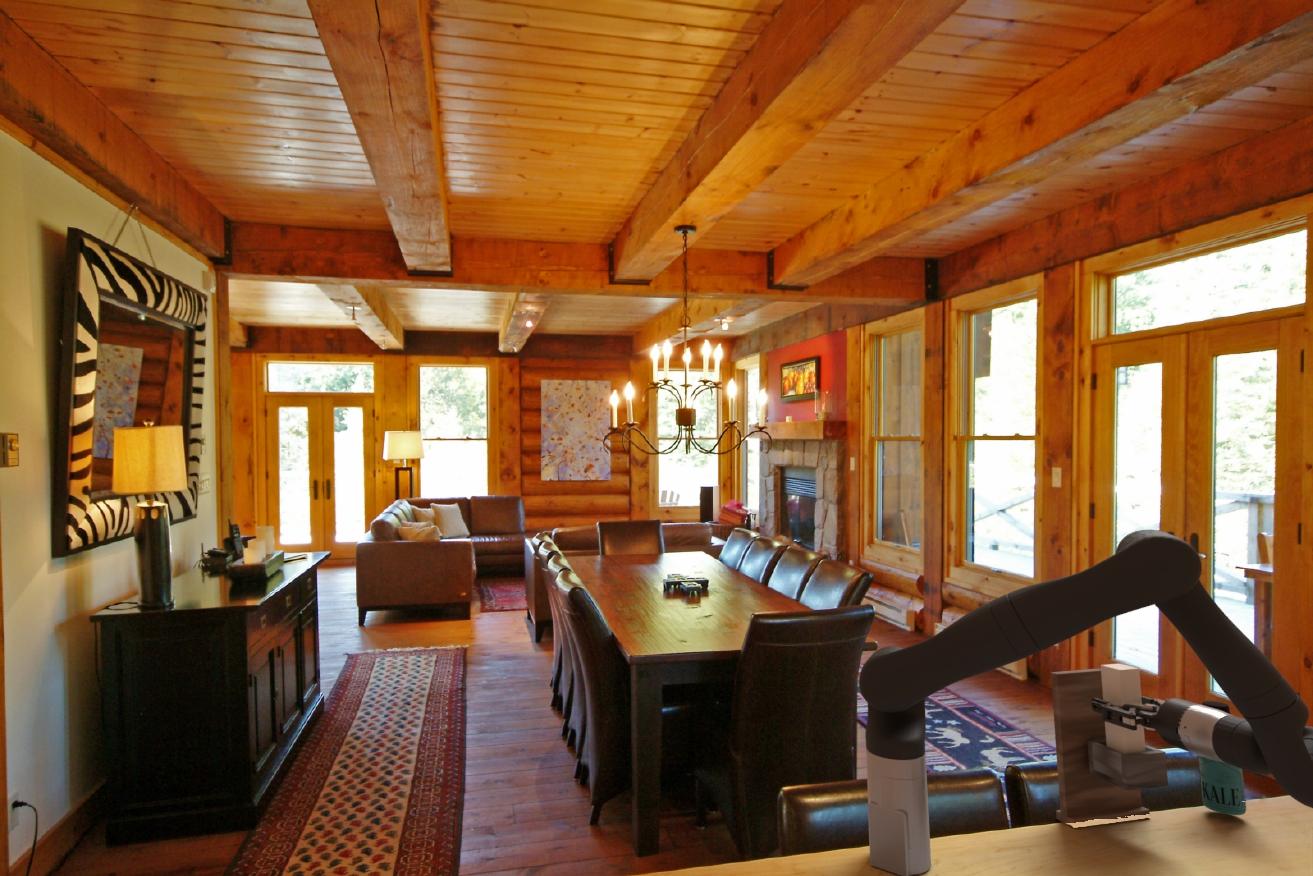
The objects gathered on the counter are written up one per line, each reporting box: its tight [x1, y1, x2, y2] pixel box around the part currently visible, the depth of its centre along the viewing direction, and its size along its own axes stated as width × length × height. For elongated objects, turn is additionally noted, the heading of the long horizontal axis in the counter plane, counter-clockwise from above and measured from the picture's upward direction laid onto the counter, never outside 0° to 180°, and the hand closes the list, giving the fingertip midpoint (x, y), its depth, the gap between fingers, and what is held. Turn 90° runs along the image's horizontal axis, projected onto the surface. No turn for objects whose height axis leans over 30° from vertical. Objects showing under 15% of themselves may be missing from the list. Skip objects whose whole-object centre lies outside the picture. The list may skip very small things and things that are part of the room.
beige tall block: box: [1100, 663, 1146, 754], centre depth 123 cm, size 4×4×18 cm
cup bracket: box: [1050, 667, 1169, 824], centre depth 125 cm, size 12×16×26 cm
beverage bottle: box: [1197, 700, 1247, 816], centre depth 128 cm, size 6×7×20 cm
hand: (1113, 702), depth 125 cm, fingers open, 8 cm apart
